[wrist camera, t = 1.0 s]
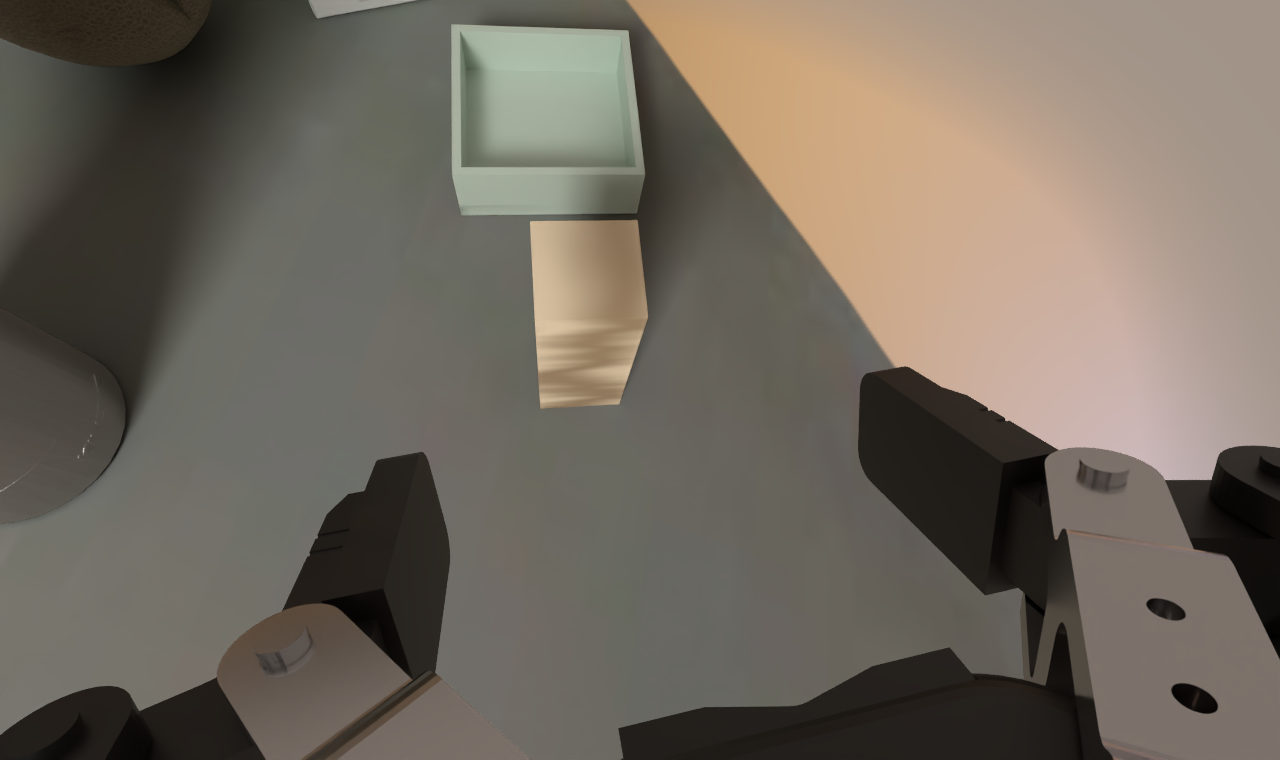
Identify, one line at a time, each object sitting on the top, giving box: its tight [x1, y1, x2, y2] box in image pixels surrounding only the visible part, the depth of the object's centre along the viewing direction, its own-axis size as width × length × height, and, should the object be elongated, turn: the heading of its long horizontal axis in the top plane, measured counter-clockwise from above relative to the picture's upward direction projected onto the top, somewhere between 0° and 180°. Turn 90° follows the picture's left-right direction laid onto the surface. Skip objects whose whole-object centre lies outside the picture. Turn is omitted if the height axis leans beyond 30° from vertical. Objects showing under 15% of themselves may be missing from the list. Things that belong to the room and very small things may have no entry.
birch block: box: [530, 220, 648, 408], centre depth 32 cm, size 4×4×12 cm
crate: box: [452, 24, 645, 215], centre depth 40 cm, size 11×11×4 cm
